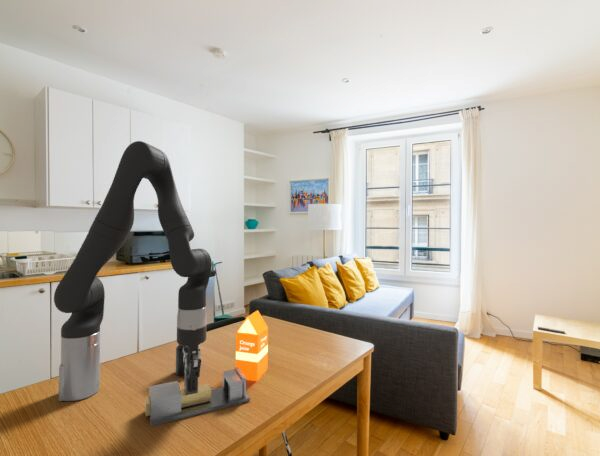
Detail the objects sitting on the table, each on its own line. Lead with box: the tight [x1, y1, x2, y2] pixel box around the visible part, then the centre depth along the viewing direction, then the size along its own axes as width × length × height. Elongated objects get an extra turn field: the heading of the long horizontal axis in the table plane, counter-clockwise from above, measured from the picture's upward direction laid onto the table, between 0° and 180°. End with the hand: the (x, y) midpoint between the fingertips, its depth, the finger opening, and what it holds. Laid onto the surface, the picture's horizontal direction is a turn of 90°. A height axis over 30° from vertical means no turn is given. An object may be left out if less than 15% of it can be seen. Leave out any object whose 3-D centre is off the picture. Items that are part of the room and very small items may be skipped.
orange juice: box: [235, 310, 269, 382], centre depth 106 cm, size 8×9×20 cm
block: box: [144, 367, 212, 417], centre depth 85 cm, size 16×4×9 cm, turn 118°
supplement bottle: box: [174, 344, 185, 378], centre depth 105 cm, size 7×7×12 cm
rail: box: [148, 366, 251, 427], centre depth 87 cm, size 25×9×6 cm, turn 118°
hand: (191, 387), depth 86 cm, fingers closed on block, 3 cm apart
